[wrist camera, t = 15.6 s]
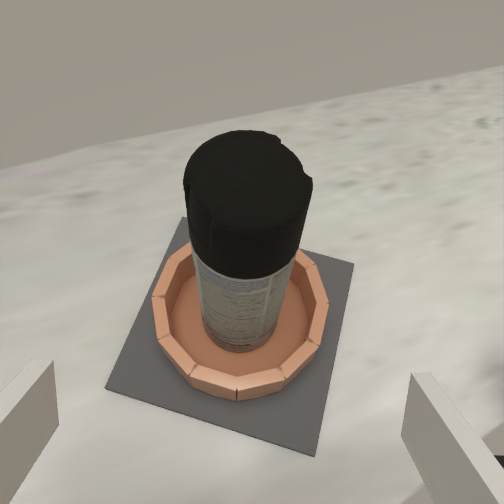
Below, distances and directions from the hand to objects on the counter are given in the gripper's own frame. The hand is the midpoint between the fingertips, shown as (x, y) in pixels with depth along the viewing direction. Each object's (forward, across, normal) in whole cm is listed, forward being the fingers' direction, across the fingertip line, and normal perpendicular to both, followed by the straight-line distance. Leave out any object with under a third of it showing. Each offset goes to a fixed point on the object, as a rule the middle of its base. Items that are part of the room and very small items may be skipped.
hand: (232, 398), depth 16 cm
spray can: (+22, 0, -7) cm, 23 cm away
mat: (+23, 0, -8) cm, 24 cm away
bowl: (+22, 0, -7) cm, 24 cm away
